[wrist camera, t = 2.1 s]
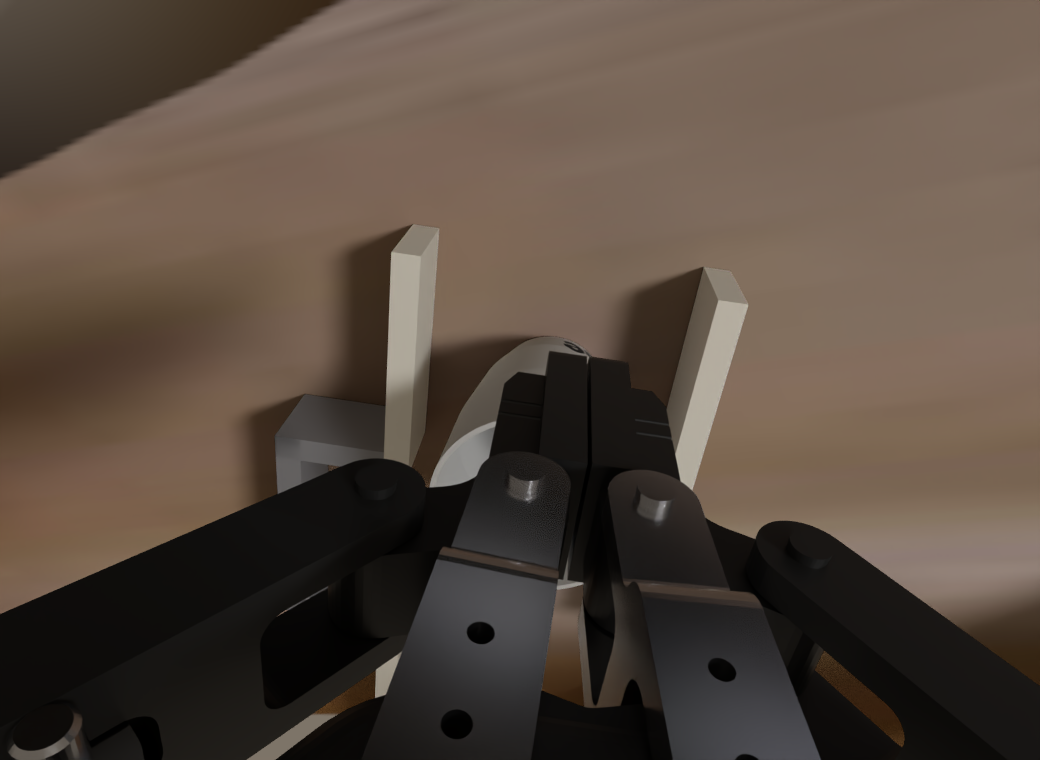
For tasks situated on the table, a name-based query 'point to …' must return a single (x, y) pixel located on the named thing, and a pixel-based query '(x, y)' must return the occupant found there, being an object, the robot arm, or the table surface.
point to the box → (401, 423)
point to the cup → (494, 415)
